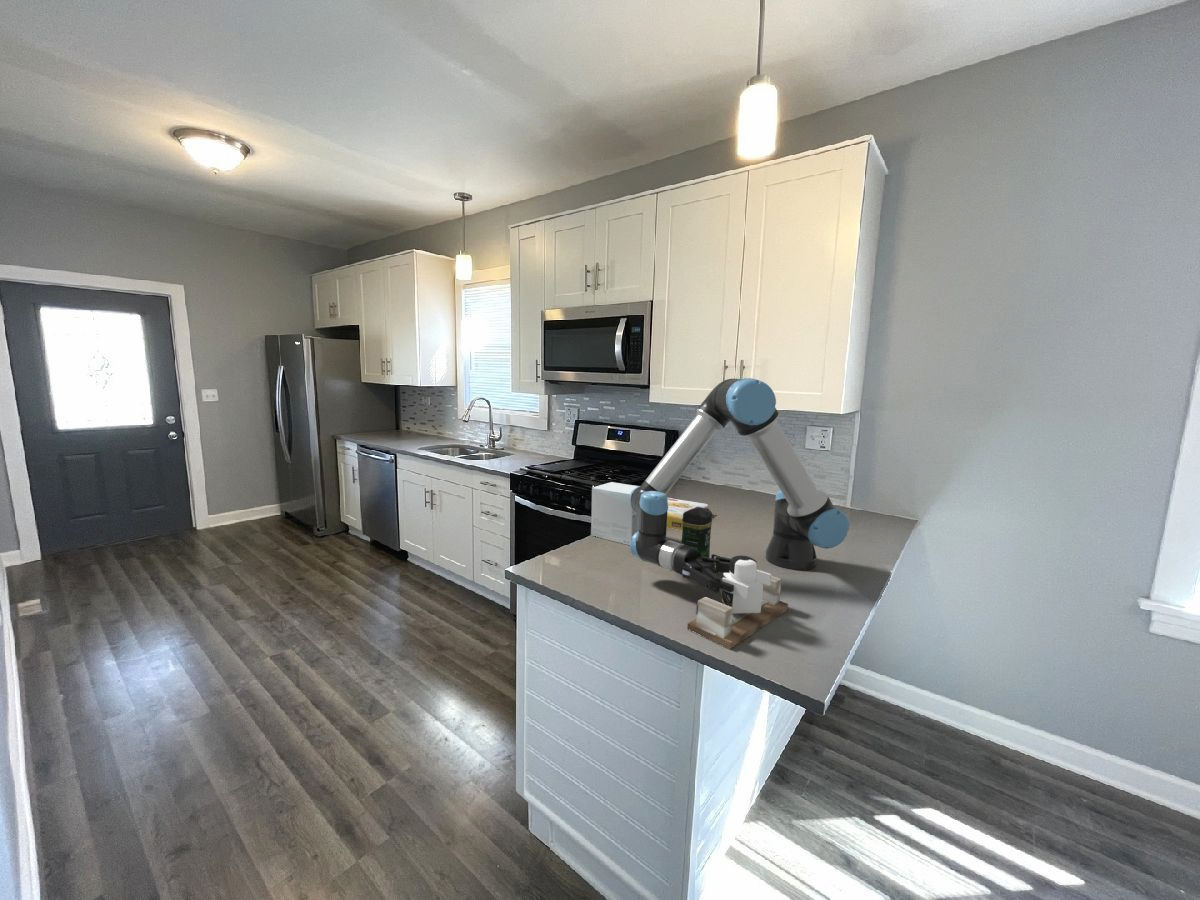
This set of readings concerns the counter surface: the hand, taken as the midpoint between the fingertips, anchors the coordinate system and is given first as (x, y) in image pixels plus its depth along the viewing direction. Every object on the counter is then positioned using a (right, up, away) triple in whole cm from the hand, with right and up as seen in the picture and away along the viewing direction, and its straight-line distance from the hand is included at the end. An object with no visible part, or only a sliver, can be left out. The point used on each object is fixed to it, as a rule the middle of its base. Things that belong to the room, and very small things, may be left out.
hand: (759, 586), depth 110 cm
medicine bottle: (-3, -6, +4) cm, 8 cm away
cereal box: (-6, +3, +87) cm, 88 cm away
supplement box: (-29, 0, +63) cm, 70 cm away
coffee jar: (-8, -5, +35) cm, 36 cm away
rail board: (-3, -9, +4) cm, 11 cm away
